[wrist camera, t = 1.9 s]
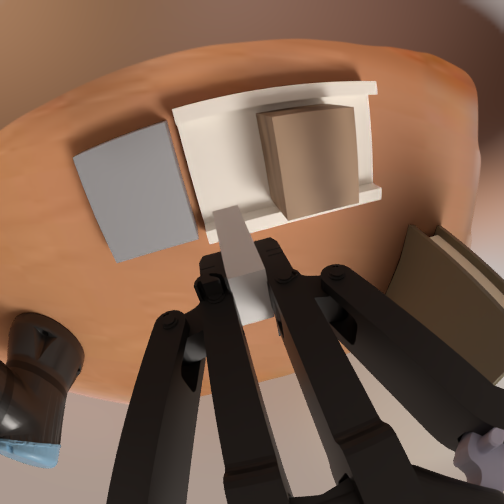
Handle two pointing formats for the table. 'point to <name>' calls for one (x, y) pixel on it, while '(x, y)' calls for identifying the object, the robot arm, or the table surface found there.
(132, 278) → the table surface
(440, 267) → the book
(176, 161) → the plinth
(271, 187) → the block
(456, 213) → the table surface
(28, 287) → the table surface
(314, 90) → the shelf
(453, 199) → the table surface
